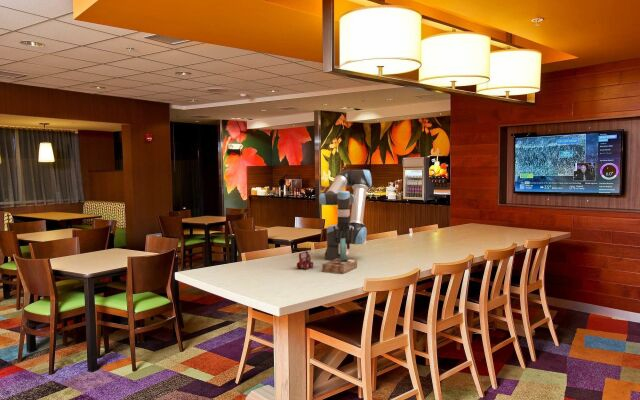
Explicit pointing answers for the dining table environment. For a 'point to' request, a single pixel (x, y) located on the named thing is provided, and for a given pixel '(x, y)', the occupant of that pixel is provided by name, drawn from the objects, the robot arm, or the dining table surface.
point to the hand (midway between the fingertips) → (343, 253)
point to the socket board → (339, 266)
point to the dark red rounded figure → (304, 261)
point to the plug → (343, 249)
